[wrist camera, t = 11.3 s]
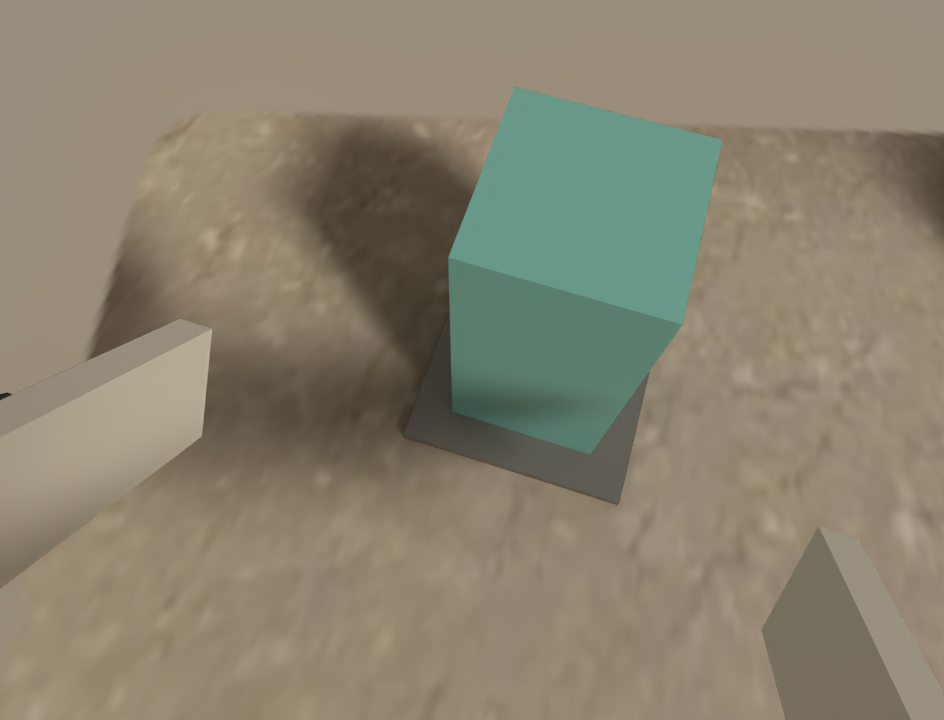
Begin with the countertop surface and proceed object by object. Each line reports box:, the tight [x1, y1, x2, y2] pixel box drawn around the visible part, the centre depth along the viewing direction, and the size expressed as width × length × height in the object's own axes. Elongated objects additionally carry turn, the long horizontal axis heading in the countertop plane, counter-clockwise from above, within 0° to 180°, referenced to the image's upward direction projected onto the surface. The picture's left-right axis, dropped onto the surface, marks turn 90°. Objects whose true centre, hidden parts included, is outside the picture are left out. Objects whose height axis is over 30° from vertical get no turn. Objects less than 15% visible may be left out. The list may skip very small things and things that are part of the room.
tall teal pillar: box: [448, 87, 722, 454], centre depth 20 cm, size 5×5×11 cm
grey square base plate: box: [404, 311, 650, 505], centre depth 22 cm, size 8×8×7 cm
